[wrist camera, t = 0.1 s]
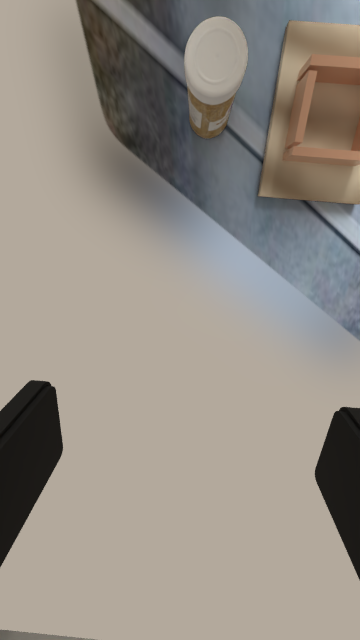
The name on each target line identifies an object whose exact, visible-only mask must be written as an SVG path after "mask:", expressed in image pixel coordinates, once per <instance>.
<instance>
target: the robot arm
mask: <svg viewBox="0 0 360 640" xmlns="http://www.w3.org/2000/svg"><path fill="white" fill-rule="evenodd" d="M62 451H63V443H62V435H61V428H60V419H59V412H58V404H57V396H56V389H55V387H53V386H51V384H50V383H49V382H46V381H34V380H32V381H29V382H28V383H27V384H26V385H25V386H24V387H23V388H22V389H21V390H20V391H19V392H18V393H17V394H16V395H15V396H14V398H13V399H12V400H11V401H10V402H9V403H8V404H7V405H6V406H5V407H4V408H3V409H2V410H1V411H0V567H1V565H2V563H3V561H4V560H5V557H6V556H7V554H8V552H9V550H10V549H11V547H12V545H13V543H14V541H15V539H16V538H17V536H18V534H19V532H20V530H21V529H22V527H23V525H24V523H25V521H26V519H27V518H28V516H29V514H30V512H31V510H32V508H33V507H34V504H35V503H36V501H37V499H38V497H39V496H40V494H41V492H42V490H43V488H44V486H45V485H46V483H47V481H48V479H49V477H50V476H51V474H52V472H53V470H54V468H55V467H56V465H57V463H58V461H59V459H60V457H61V454H62ZM315 478H316V482H317V484H318V486H319V488H320V491H321V493H322V496H323V498H324V500H325V502H326V505H327V507H328V509H329V511H330V514H331V516H332V518H333V520H334V523H335V525H336V527H337V529H338V532H339V534H340V536H341V539H342V541H343V543H344V545H345V548H346V550H347V552H348V555H349V557H350V559H351V561H352V564H353V566H354V568H355V570H356V573H357V575H358V577H359V579H360V408H350V407H342V408H340V410H339V411H336V412H335V413H334V416H333V418H332V421H331V424H330V427H329V430H328V433H327V436H326V439H325V442H324V445H323V448H322V451H321V454H320V457H319V460H318V463H317V466H316V469H315ZM0 640H94V639H84V638H75V637H65V636H56V635H47V634H37V633H28V632H18V631H9V630H0Z"/></svg>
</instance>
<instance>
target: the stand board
mask: <svg viewBox="0 0 360 640" xmlns="http://www.w3.org/2000/svg"><path fill="white" fill-rule="evenodd" d="M312 54H320V55H334V56H348V57H360V25H349V24H334V23H320V22H305V21H290V20H289V22H288V24H287V26H286V29H285V35H284V41H283V47H282V53H281V59H280V65H279V71H278V77H277V83H276V89H275V95H274V101H273V107H272V113H271V119H270V125H269V131H268V137H267V143H266V149H265V155H264V161H263V167H262V173H261V179H260V185H259V191H258V196H259V197H271V198H284V199H296V200H308V201H320V202H332V203H344V204H360V165H356V166H345V165H332V164H320V163H307V162H294V161H282V159H283V154H284V152H285V151H287V150H289V149H285V144H286V138H287V133H288V128H289V122H290V117H291V112H292V107H293V101H294V96H295V91H296V86H297V84H298V83H299V82H300V81H297V80H298V75H299V71H300V70H301V68H302V67H303V65H304V64H305V63H306V61H307V60H308V59H309V57H310V56H311V55H312ZM359 118H360V85H348V84H335V83H321V82H315V85H314V90H313V94H312V99H311V104H310V109H309V113H308V118H307V123H306V128H305V133H304V137H303V142H302V143H301V144H299V145H297V147H310V148H323V149H336V150H348V151H351V148H352V144H353V141H354V137H355V133H356V129H357V126H358V122H359Z"/></svg>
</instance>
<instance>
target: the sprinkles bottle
mask: <svg viewBox="0 0 360 640" xmlns="http://www.w3.org/2000/svg"><path fill="white" fill-rule="evenodd" d="M247 62H248V48H247V42H246V39H245V36H244V34H243V32H242V30H241V29H240V27H239V26H238V25H237V24H236V23H235V22H234V21H232V20H230V19H228V18H226V17H220V16H217V17H211V18H208V19H206V20H204V21H203V22H201V23H200V24H199V25H198V26H197V27H196V28H195V29H194V31H193V32H192V34H191V36H190V38H189V40H188V43H187V45H186V49H185V57H184V68H185V78H186V82H187V85H188V101H189V112H190V114H189V118H190V124H191V126H192V129H193V130H194V131H195V133H196V134H197V135H199V136H200V137H202V138H213V137H215V136H217V135H219V134H220V133H221V132H222V131H223V130H224V128H225V126H226V125H227V121H228V117H229V114H230V111H231V107H232V104H233V101H234V98H235V94H236V91H237V90H238V88H239V87H240V85H241V82H242V80H243V77H244V74H245V71H246V67H247Z"/></svg>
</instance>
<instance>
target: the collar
mask: <svg viewBox="0 0 360 640" xmlns="http://www.w3.org/2000/svg"><path fill="white" fill-rule="evenodd" d="M297 81H300V82H299V83H298V84H297V86H296V91H295V96H294V101H293V107H292V112H291V117H290V122H289V128H288V133H287V138H286V144H285V149H289V150H287V151H285V152H284V154H283V159H282V161H294V162H307V163H320V164H332V165H345V166H356V165H360V118H359V122H358V126H357V129H356V133H355V137H354V141H353V144H352V148H351V151H348V150H336V149H323V148H310V147H297V145H299V144H301V143H302V142H303V137H304V133H305V128H306V123H307V118H308V113H309V109H310V104H311V99H312V94H313V90H314V85H315V82H321V83H335V84H348V85H360V57H348V56H334V55H320V54H312V55H311V56H310V57H309V59H308V60H307V61H306V63H305V64H304V65H303V67H302V68H301V70H300V71H299V75H298V80H297Z"/></svg>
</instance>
